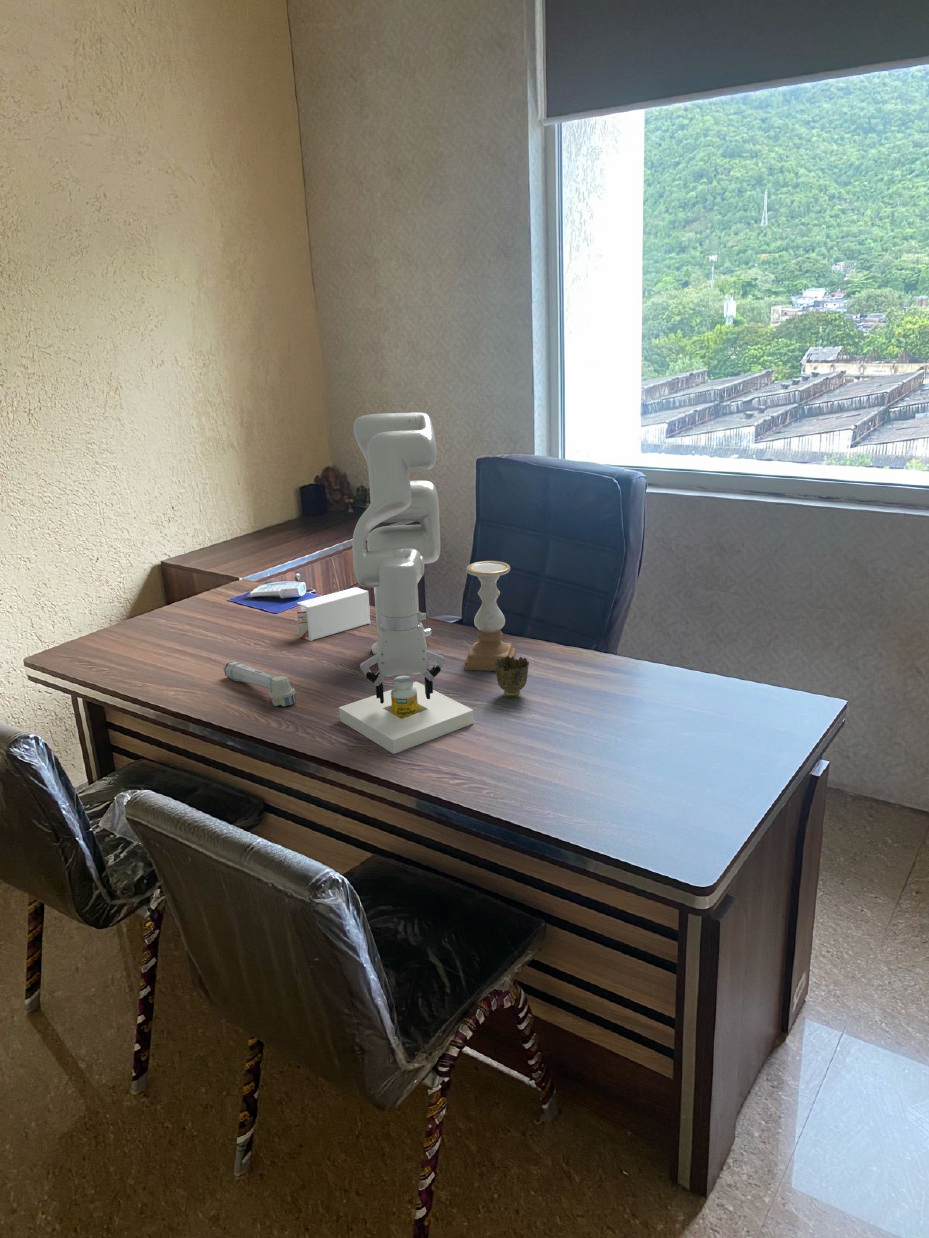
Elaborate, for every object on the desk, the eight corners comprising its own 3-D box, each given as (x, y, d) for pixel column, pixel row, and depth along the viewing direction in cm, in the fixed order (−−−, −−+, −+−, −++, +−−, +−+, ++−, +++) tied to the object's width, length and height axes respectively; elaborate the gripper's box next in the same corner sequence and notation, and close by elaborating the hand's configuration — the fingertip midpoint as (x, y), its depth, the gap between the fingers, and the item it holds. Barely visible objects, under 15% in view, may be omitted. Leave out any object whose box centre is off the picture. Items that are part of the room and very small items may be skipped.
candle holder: (472, 652, 225) (469, 559, 217) (516, 654, 223) (515, 560, 215) (463, 669, 215) (460, 572, 207) (510, 672, 213) (508, 574, 205)
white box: (358, 619, 252) (356, 586, 249) (370, 624, 248) (368, 591, 245) (295, 637, 240) (292, 603, 236) (307, 643, 236) (303, 608, 232)
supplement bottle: (416, 714, 193) (413, 672, 190) (420, 725, 188) (418, 682, 185) (390, 717, 192) (388, 675, 189) (394, 728, 187) (392, 685, 184)
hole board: (416, 693, 203) (416, 681, 202) (473, 723, 188) (473, 709, 187) (339, 720, 191) (338, 707, 190) (393, 753, 177) (392, 740, 176)
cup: (534, 691, 202) (533, 657, 200) (521, 704, 196) (521, 670, 193) (503, 686, 205) (502, 653, 203) (490, 699, 199) (489, 665, 196)
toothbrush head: (239, 658, 217) (296, 672, 198) (244, 684, 218) (301, 701, 200) (219, 664, 213) (275, 679, 195) (225, 691, 215) (281, 708, 197)
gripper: (440, 610, 187) (444, 687, 193) (356, 617, 185) (361, 695, 190) (445, 623, 180) (448, 702, 186) (357, 630, 178) (363, 710, 183)
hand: (404, 698), depth 188 cm, fingers open, 9 cm apart
